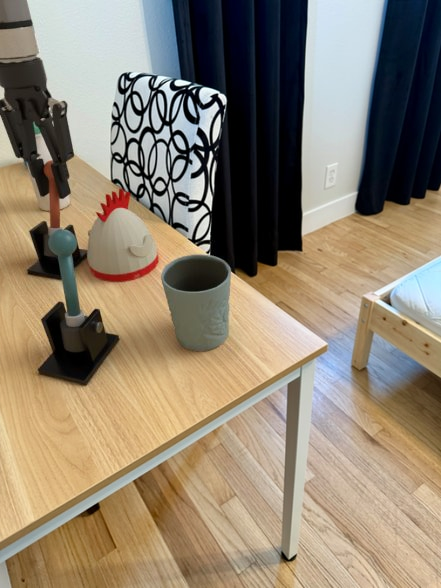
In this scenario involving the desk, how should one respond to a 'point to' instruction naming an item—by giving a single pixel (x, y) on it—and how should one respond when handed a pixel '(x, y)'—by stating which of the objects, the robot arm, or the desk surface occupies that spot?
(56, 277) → the back stand
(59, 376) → the front stand
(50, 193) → the terracotta lever
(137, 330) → the desk surface
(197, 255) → the grey green cup
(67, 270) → the ball top lever
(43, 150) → the milk bottle
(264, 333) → the desk surface
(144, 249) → the kitchen timer
